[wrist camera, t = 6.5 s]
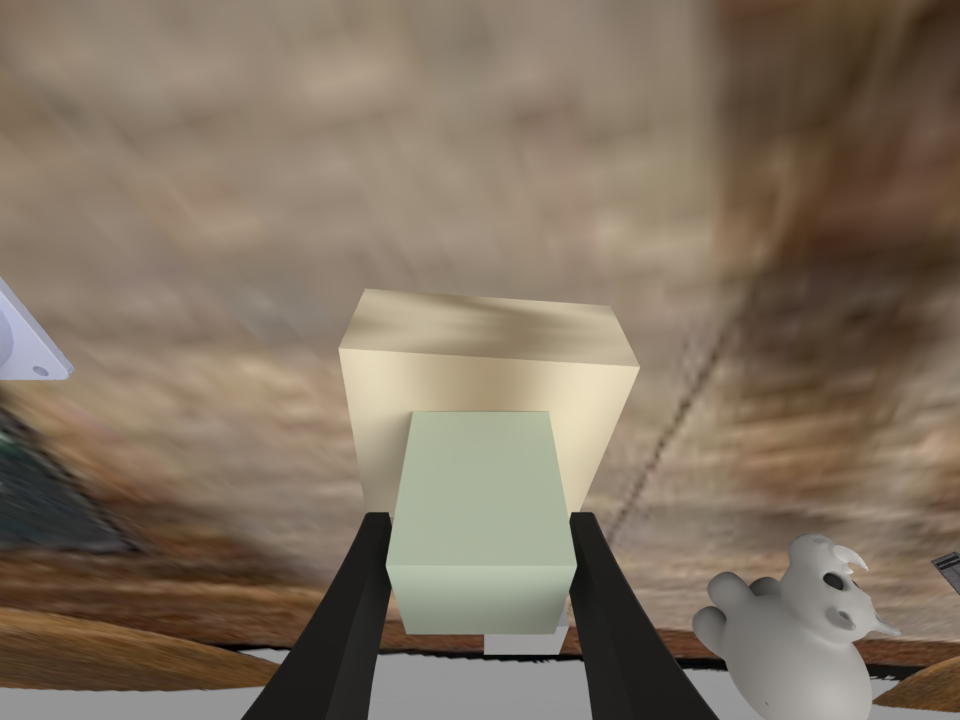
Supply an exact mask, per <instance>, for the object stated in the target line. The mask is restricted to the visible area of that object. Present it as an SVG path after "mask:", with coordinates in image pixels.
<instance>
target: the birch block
mask: <svg viewBox="0 0 960 720" xmlns="http://www.w3.org/2000/svg"><path fill="white" fill-rule="evenodd" d="M338 349H339V355H340V361H341V367H342V373H343V379H344V384H345V390H346V396H347V402H348V408H349V414H350V420H351V426H352V432H353V437H354V443H355V449H356V455H357V461H358V467H359V473H360V479H361V485H362V491H363V496H364V502H365V508H366V513H368V512H389V516H390V517H394V516H395V510H396V504H397V499H398V493H399V487H400V482H401V476H402V470H403V465H404V459H405V453H406V448H407V442H408V436H409V431H410V425H411V419H412V414H413V411H426V412H549V415H550V420H551V426H552V431H553V437H554V442H555V448H556V453H557V458H558V464H559V469H560V475H561V480H562V486H563V491H564V497H565V502H566V508H567V513H568V519H569V520H570V516H571V512H579V511H580V509H581V507H582V504H583V502H584V499H585V497H586V495H587V492H588V490H589V488H590V485H591V483H592V481H593V478H594V476H595V473H596V471H597V469H598V466H599V464H600V462H601V459H602V457H603V454H604V452H605V450H606V447H607V445H608V443H609V440H610V438H611V435H612V433H613V431H614V428H615V426H616V424H617V421H618V419H619V417H620V414H621V412H622V409H623V407H624V405H625V402H626V400H627V398H628V395H629V393H630V390H631V388H632V386H633V383H634V381H635V379H636V376H637V374H638V371H639V369H640V365H639V363H638V361H637V359H636V357H635V355H634V353H633V351H632V349H631V347H630V345H629V343H628V340H627V338H626V336H625V334H624V332H623V330H622V328H621V326H620V324H619V322H618V320H617V318H616V316H615V314H614V312H613V310H612V308H611V306H605V305H591V304H576V303H562V302H548V301H534V300H520V299H506V298H492V297H477V296H463V295H449V294H435V293H421V292H407V291H393V290H378V289H365V290H364V292H363V294H362V297H361V299H360V301H359V303H358V306H357V308H356V310H355V312H354V315H353V317H352V319H351V321H350V323H349V326H348V328H347V330H346V332H345V335H344V337H343V339H342V341H341V344H340V346H339V348H338Z"/></svg>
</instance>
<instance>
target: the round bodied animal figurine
mask: <svg viewBox="0 0 960 720" xmlns="http://www.w3.org/2000/svg"><path fill="white" fill-rule="evenodd" d="M788 554H789V559H790V565H789V568H788V569H787V571H786V572H785V574H784V575H783V577H782V579H781V581H780V582H779V581H778V580H776V579H774V578H772V577H762V578H759V579H757V580H755V581H754V582H752V583H751V584H750V585H749V587H748V586H747V584H746V583H745V582H744V581H743V580H742V579H741V578H740V577H739V576H737V575H736V574H734V573H732V572H722V573H720V574H718V575H716V576H715V577H714V578H712V579H711V581H710V582H709V584H708V586H707V591H708V595H709V597H710V599H711V600H712V602H713V603H714V604H715V605H716V607H714V606H707V607H704V608H702V609H701V610H699V611H698V612H697V613H696V614H695V615H694V617H693V619H692V628H693V631H694V633H695V635H696V636H697V638H698V639H699V640H700V641H701V642H702V643H703V644H704V645H705V646H706V647H707V648H708V649H709V650H710V651H712V652H713V653H714V654H716V655H718V656H719V657H721V658H722V659H724V660H725V662H726V665H727V668H728V671H729V673H730V676H731V678H732V680H733V682H734V684H735V685H736V687H737V689H738V690H739V692H740V693H741V695H742V696H743V697H744V699H745V700H746V701H747V702H748V704H749V705H750V706H751V707H752V708H753V709H754V710H755V711H756V712H757V713H758V714H759V715H760V716H761V717H763V718H764V719H765V720H867V719H868V717H869V713H870V710H871V705H872V687H871V681H870V677H869V674H868V671H867V668H866V666H865V663H864V661H863V659H862V657H861V655H860V654H859V652H858V650H857V649H856V647H855V646H854V645H853V643H852V642H853V641H856V640H859V639H861V638H863V637H864V636H865V635H866V634H867V633H868V632H870V631H878V632H881V633H884V634H888V635H893V636H899V635H901V632H900V630H899V629H898V628H897V627H895V626H893V625H891V624H889V623H888V622H886V621H884V620H883V619H882V618H880V617H879V616H878V614H877V613H876V611H875V609H874V607H873V605H872V602H871V597H870V596H869V595H868V594H866V593H865V592H863V591H862V590H860V589H859V586H858V585H857V584H856V583H855V582H854V581H853V580H852V579H851V577H850V574H852V573H853V571H852V570H851V569H850V568H849V566H848V562H851V563H854V564H857V565H859V566H860V567H862V568H864V569H865V570H866V571H868V568H867V566H866V564H865V563H864V561H863V560H862V558H861V557H860V556H859V555H858V554H857V553H856V552H854V551H853V550H851V549H849V548H847V547H844V546H840V545H838V544H836V543H834V542H833V541H832V540H830V539H829V538H827V537H825V536H822V535H819V534H812V533H805V534H803V535H800V536H797V537H796V538H794V539H793V540H792V542H791V543H790V545H789V550H788ZM718 608H719V609H718Z"/></svg>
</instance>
